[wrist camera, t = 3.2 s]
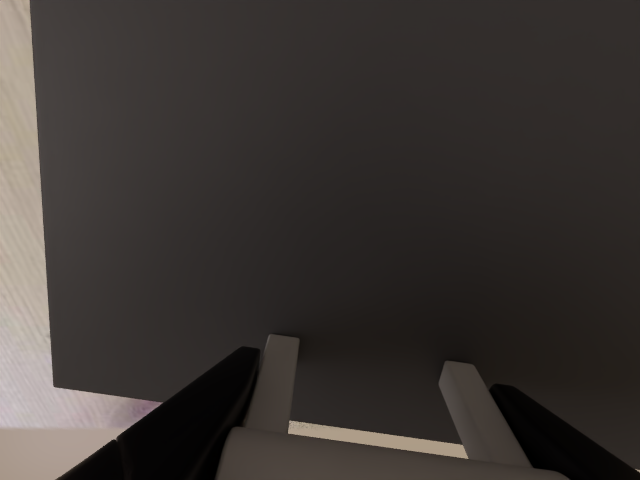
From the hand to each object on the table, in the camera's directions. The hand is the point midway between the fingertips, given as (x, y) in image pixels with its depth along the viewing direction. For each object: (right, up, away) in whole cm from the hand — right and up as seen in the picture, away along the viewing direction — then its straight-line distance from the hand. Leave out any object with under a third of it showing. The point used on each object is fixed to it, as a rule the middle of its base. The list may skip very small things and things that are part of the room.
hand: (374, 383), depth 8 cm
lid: (+1, +5, 0) cm, 5 cm away
